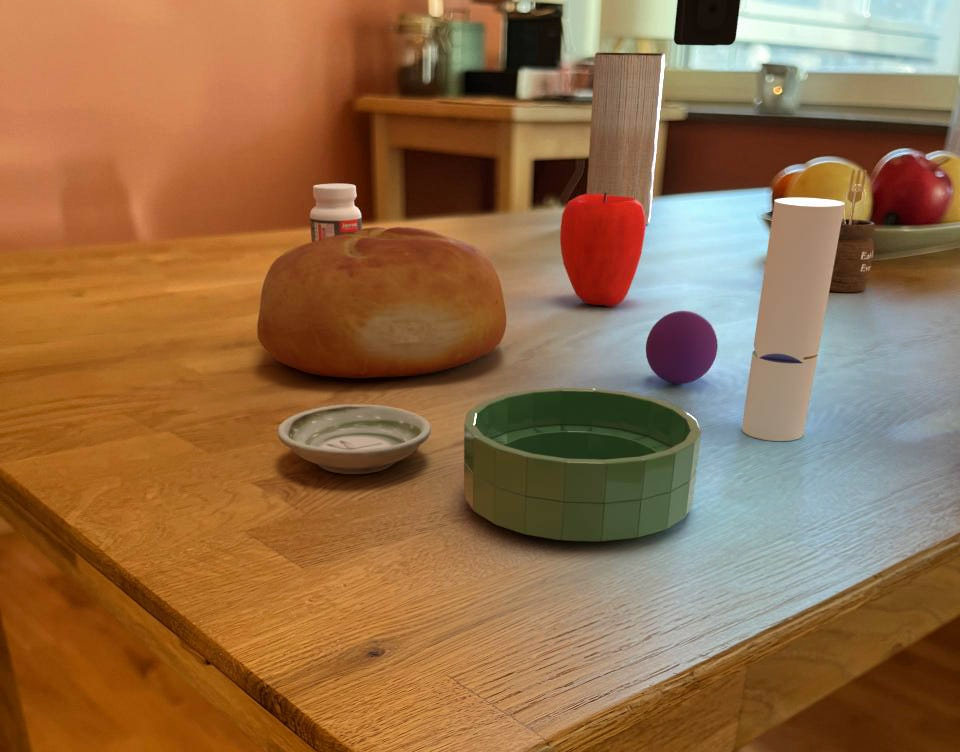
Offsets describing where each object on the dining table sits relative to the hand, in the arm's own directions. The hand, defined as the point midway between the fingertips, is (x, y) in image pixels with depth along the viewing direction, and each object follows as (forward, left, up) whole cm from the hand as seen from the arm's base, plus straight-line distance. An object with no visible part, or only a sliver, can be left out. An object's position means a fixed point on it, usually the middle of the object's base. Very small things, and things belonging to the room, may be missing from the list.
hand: (701, 44), depth 65 cm
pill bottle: (+32, -44, -24) cm, 60 cm away
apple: (+3, -35, -24) cm, 43 cm away
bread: (+23, -13, -24) cm, 36 cm away
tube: (-7, +6, -24) cm, 25 cm away
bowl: (+7, +20, -24) cm, 32 cm away
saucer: (+21, +14, -24) cm, 35 cm away
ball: (-2, -6, -21) cm, 22 cm away
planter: (-3, -93, -24) cm, 96 cm away
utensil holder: (-25, -46, -24) cm, 57 cm away
